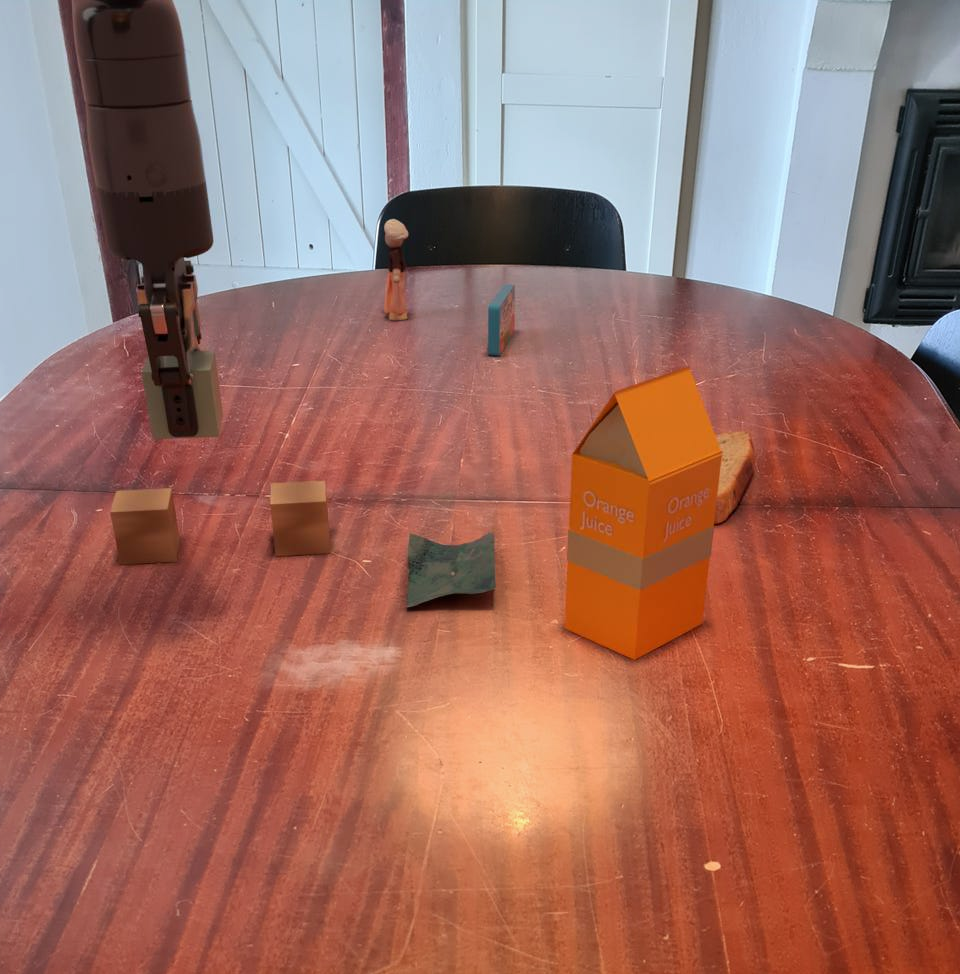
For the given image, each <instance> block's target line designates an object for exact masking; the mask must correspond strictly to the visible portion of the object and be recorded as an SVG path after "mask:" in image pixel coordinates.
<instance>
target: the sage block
mask: <svg viewBox="0 0 960 974" xmlns="http://www.w3.org/2000/svg"><path fill="white" fill-rule="evenodd" d="M163 358H164V367H179V366H178V361H177V358H176V357H175V356H163ZM190 360H191V369H192V373H193V375H194V381H193V392H194V399H195V406H196V412H197V419H198V426H199V429H198V433H197V435H195V436H190V437H173V436H171V435H170V433H169V431H168V424H167V418H166V412H165V406H164V400H163V394H162V387H159V386H155V385H154V381H152V376H151V374H152V371H151V366H150V361H149V356H148V355H147V357H146V360H145V363H144V365H143V368H142V370H141V377H142V378H141V379H142V384H143V387H144V388H143V390H144V395H145V402H146V408H147V413H148V418H149V425H150V430H151V437H152V440H172V439H175V440H176V439H196V438H197V439H200V438H219V437H220V433H221V427H222V423H223V418H224V411H223V410H224V409H223V404H222V397H221V390H220V389H221V388H220V381H219V374H218V367H217V358H216V351H215V350H211V349H210V350H201V351H193V352H191V354H190Z"/></svg>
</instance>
